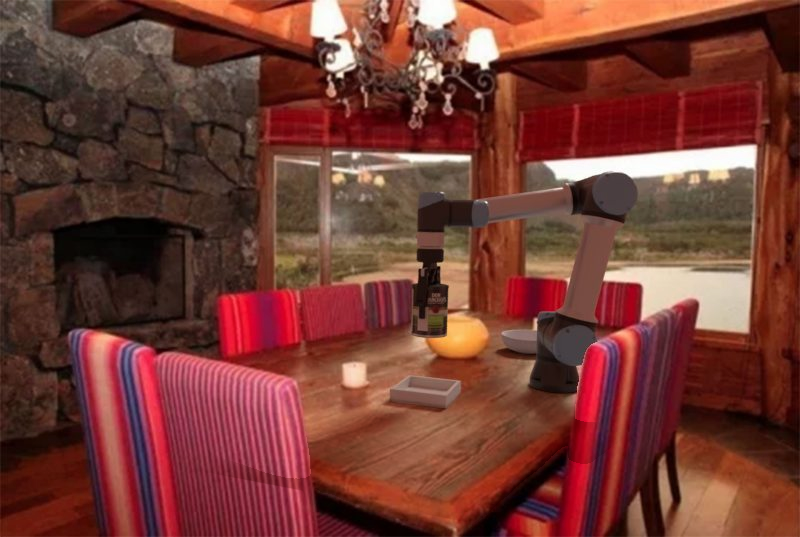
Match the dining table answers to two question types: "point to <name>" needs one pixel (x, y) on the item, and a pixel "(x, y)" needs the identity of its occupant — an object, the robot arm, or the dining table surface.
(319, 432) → the dining table surface
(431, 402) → the tray
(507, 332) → the serving bowl
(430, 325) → the coffee can
